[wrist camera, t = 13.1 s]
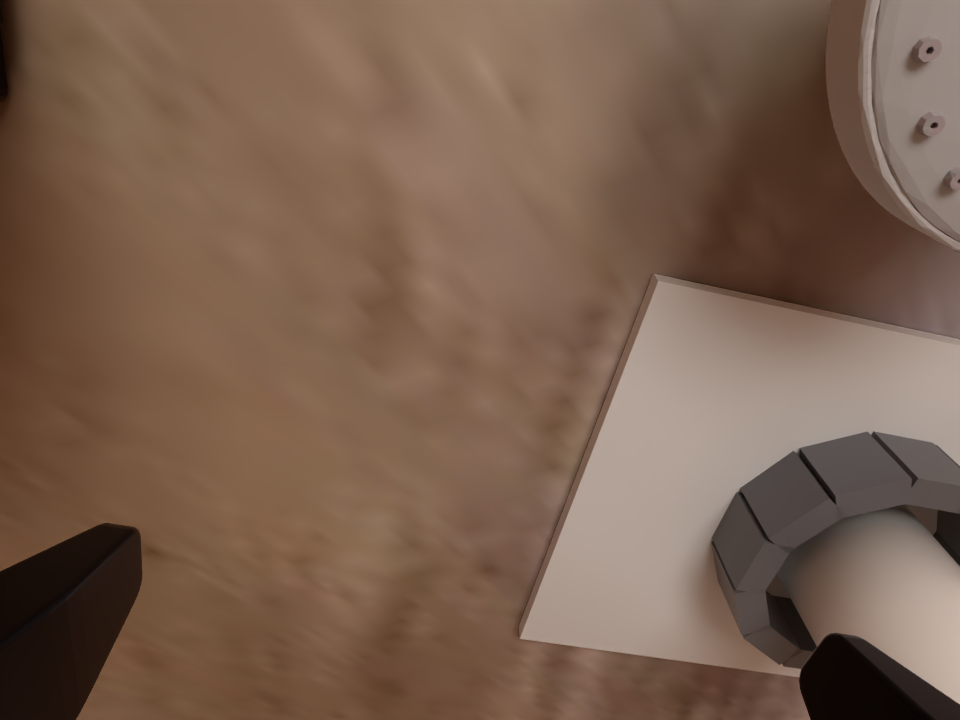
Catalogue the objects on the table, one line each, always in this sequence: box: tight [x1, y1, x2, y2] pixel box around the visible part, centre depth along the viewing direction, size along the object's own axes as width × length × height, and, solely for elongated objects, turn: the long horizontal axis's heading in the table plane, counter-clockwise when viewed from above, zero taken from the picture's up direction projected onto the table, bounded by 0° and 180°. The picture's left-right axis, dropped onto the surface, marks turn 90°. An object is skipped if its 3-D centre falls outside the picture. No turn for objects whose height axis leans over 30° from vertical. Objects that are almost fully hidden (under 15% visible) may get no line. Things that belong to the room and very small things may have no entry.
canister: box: [777, 504, 960, 704], centre depth 18 cm, size 5×5×12 cm
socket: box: [519, 273, 960, 677], centre depth 22 cm, size 20×16×3 cm
